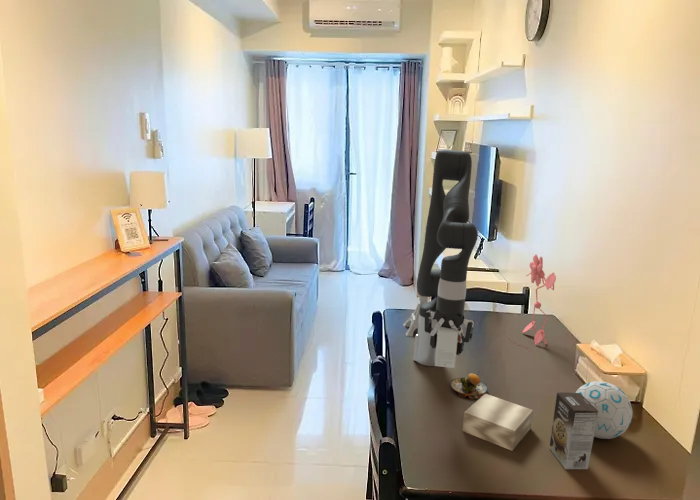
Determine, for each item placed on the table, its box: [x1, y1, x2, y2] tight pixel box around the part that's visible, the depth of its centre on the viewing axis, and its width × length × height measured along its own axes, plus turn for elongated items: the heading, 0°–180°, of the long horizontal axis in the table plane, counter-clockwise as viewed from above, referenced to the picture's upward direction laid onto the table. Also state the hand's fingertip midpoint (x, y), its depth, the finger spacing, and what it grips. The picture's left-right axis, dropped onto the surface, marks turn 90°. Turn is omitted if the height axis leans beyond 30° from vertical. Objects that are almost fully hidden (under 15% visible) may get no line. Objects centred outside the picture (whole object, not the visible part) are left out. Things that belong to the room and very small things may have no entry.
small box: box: [434, 327, 458, 369], centre depth 149 cm, size 8×6×10 cm
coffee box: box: [549, 391, 598, 470], centre depth 133 cm, size 9×6×16 cm
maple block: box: [461, 394, 534, 452], centre depth 146 cm, size 14×14×6 cm
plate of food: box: [449, 371, 489, 400], centre depth 168 cm, size 12×12×8 cm
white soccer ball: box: [574, 380, 634, 440], centre depth 145 cm, size 15×15×15 cm
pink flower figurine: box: [507, 254, 557, 349], centre depth 210 cm, size 15×26×35 cm, turn 2°
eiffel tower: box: [403, 295, 429, 337], centre depth 214 cm, size 13×13×30 cm
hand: (446, 350), depth 149 cm, fingers closed on small box, 6 cm apart
